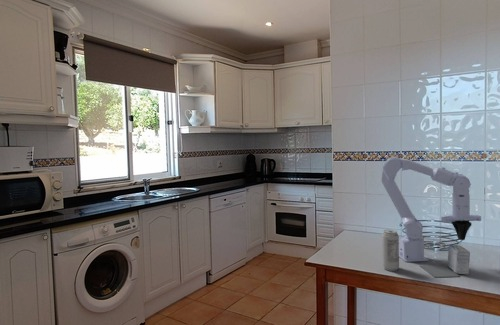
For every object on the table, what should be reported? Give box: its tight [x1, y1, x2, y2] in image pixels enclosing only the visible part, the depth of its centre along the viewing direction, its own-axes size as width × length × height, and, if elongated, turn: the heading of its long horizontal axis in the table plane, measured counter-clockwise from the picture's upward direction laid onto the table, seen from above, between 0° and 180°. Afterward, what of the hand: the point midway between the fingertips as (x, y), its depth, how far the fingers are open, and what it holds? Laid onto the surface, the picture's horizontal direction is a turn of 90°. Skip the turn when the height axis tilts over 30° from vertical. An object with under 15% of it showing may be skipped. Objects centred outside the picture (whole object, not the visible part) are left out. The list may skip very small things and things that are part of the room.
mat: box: [419, 264, 461, 279], centre depth 123 cm, size 9×11×1 cm
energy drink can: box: [381, 229, 400, 272], centre depth 127 cm, size 6×6×15 cm
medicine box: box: [447, 244, 471, 275], centre depth 122 cm, size 8×4×9 cm, turn 169°
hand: (461, 239), depth 128 cm, fingers closed
